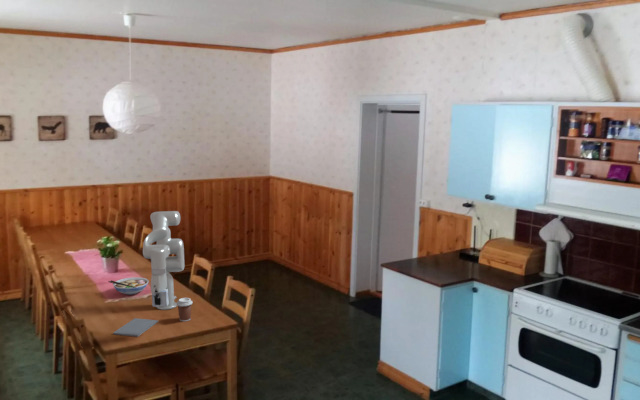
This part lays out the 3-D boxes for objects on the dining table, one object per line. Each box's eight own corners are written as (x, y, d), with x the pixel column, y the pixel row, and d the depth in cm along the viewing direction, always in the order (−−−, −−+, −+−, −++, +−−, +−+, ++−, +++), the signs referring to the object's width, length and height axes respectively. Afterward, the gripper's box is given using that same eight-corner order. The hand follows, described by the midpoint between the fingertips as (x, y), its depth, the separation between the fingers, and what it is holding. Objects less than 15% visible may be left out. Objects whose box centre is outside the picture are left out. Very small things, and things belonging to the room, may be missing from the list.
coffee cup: (176, 317, 334) (175, 298, 332) (192, 315, 337) (191, 296, 335) (178, 323, 325) (177, 303, 323) (194, 321, 329) (193, 301, 327)
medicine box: (168, 303, 312) (168, 288, 310) (166, 306, 307) (166, 291, 306) (154, 303, 312) (153, 288, 310) (152, 306, 307) (151, 291, 306)
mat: (134, 319, 331) (134, 318, 331) (158, 321, 327) (158, 320, 327) (113, 334, 310) (113, 332, 310) (137, 336, 306) (137, 335, 306)
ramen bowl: (157, 291, 380) (157, 279, 379) (130, 301, 361) (129, 289, 360) (132, 285, 393) (132, 273, 392) (104, 294, 374) (103, 282, 373)
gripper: (160, 266, 315) (161, 297, 318) (144, 275, 299) (146, 307, 302) (172, 266, 314) (174, 298, 317) (157, 276, 297) (159, 309, 300)
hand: (160, 302), depth 309 cm, fingers closed on medicine box, 5 cm apart
